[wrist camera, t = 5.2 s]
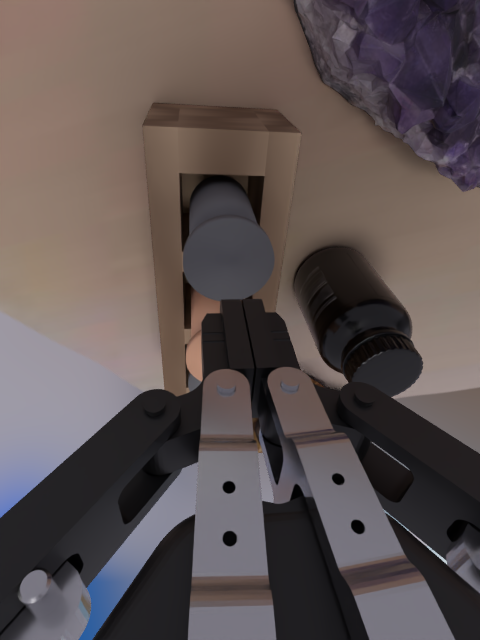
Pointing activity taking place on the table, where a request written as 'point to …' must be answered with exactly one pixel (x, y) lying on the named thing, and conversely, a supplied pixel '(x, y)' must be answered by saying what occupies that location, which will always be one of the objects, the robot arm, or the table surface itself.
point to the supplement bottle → (357, 321)
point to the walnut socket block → (181, 179)
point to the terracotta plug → (198, 330)
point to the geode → (406, 71)
